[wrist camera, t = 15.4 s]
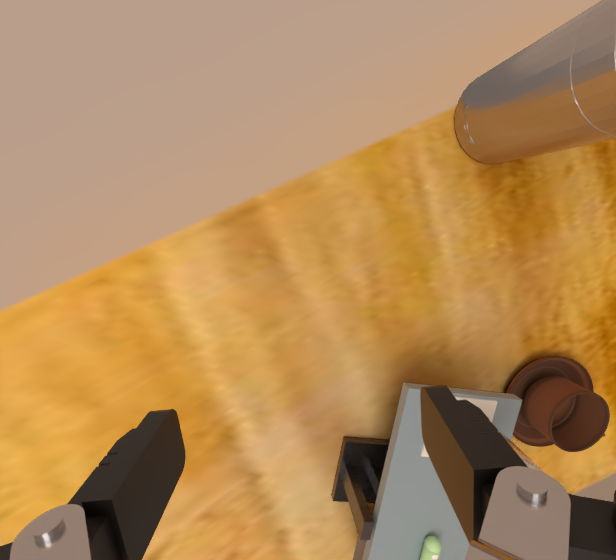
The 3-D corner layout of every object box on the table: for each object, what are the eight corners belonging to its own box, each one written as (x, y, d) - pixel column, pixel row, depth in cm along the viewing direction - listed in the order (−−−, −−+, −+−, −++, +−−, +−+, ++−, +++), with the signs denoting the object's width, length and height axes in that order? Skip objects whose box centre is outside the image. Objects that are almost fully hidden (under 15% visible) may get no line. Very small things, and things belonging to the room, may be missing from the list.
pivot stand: (448, 500, 46) (493, 567, 37) (331, 494, 43) (349, 565, 35) (463, 445, 45) (513, 502, 36) (343, 436, 42) (365, 494, 33)
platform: (437, 563, 43) (469, 628, 37) (344, 562, 41) (360, 629, 35) (488, 376, 39) (535, 409, 33) (388, 364, 37) (416, 397, 31)
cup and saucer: (591, 357, 45) (642, 379, 39) (563, 440, 47) (608, 473, 41) (509, 345, 43) (550, 366, 37) (484, 433, 45) (518, 466, 39)
